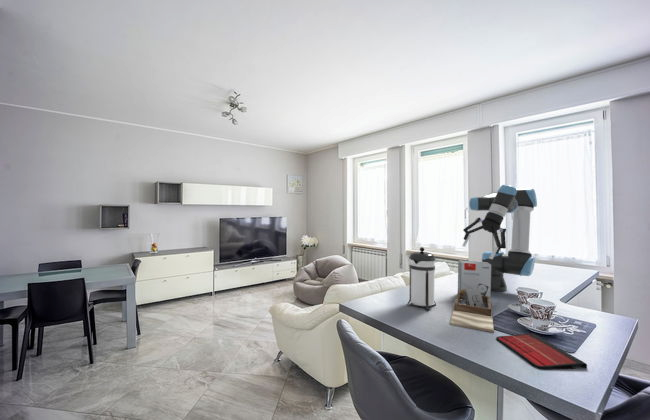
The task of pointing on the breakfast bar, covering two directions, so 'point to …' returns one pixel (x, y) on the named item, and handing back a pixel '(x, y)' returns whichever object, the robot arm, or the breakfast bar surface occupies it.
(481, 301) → the electrical switch
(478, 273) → the hard drive box
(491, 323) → the birch board
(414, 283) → the coffee press
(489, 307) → the holder frame
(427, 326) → the breakfast bar surface
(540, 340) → the binder
